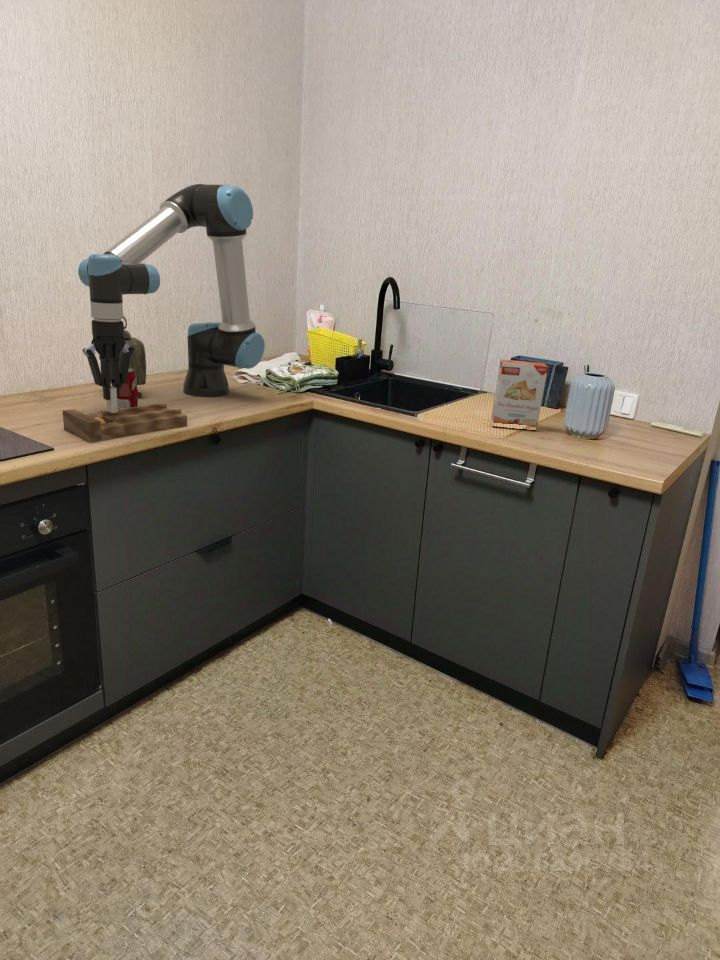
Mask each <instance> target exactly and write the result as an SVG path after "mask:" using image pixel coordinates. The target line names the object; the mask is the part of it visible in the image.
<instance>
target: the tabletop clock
mask: <svg viewBox="0 0 720 960" xmlns="http://www.w3.org/2000/svg"><path fill="white" fill-rule="evenodd" d="M122 320H124V323H125V325H124V336H123V337H124V340H125V342H126V344H127V345H129V346H131V347H134V351H133V353H132V355H131V359H130V364H129V368H132V369H134V372H135V374H136V375H137V386H143V385H146V383H147V359H146V358H147V356H146V348H145V344H144V342H143V341H141V340H140V339H139V338H136V337H133V336H132V335H131V333H130V332H129V331H128V330H126V329H127V327H128V321H127V319H126V317H125V316H124V315H123V319H122ZM122 353H123V351H121V353H120V360H119V368H120V362H121V356H122ZM110 381H111V372H110ZM142 396H143V395H142V392H139V390H138V389H137V398H142Z"/></svg>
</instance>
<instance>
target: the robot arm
mask: <svg viewBox="0 0 720 960" xmlns="http://www.w3.org/2000/svg"><path fill="white" fill-rule="evenodd" d="M252 204H253V203H252V201H251V198H250V197H249V195H248V194H247V193H246V192H245V190H244V189H243V188H241V187H239V186H236V185H230V184H204V183H196V184H191V185H189V186H186V187H183V189H180V190H178V191H177V192H175V193H174V194H172V195H171V196H170V197H168V198H167V199H165V200H164V201H163V202H161V203H160V206H159V210H158V211H156V212H155V213H154V214H152V215H151V216H150V217H149V218H148V219H146V220H144V222H142V223H141V224H140V225H138V226H137V227H136V228H135V229H133V230H132V231H131V232H129V233H127V235H125V236H124V237H123V238H122V239H120V240H119V241H118V242H116V243H115V244H114V245H113V246H111V247H110V248H109V249H107V250H106V251H105V252H103V253H91V254H90V255H88V258H85V259H83V260H82V261H80V263H79V265H78V271H77V273H78V277H79V278H78V279H80V280H79V281H80V282H81V283H82V284H83V285H85V286H86V287H88V288H89V300H90V302H89V303H90V305H89V306H90V317H91V318H92V320H91V334H92V339H91V344H90V345H89V346H88V347H84V348H82V352H83V354H84V355H85V356H86V359H87V362H88V365H89V369H90V372H91V374H92V378H93V381H94V384H95V385H97V386H98V387H102V398H103V399H104V400H105V401H106V411H109V412H111V413H116V412H118V410H117V399H119V397H120V392H119V388H120V387H121V386H122V384H125V383H126V381H127V376H128V370H129V364H130V359H131V355H132V353H133V351H134V347H131V346H129V345H127V344H126V342H125V340H124V337H123V336H124V330H125V329H124V327H125V325H124V323H125V322H124V321H123V320H124V319H123V316H124V308H123V307H124V305H123V301H124V300H123V296H124V295H149V294H155V293H156V292H157V291H158V290H159V288H160V287H161V274H160V272H159V271H158V269H157V267H155V266H154V265H152V264H149V263H142V262H143V261H145V260H146V259H147V258H149V256H151V255H152V254H153V253H154V252H156V251H158V249H159V248H160V247H162V246H163V245H164V244H166V242H168V241H170V239H172V238H173V237H174V236H175V235H177V234H182V233H185V232H186V231H187V230H189V229H192V228H195V227H201V228H202V227H203V228H205V231H206V236H207V237H208V239H210V240H211V241H212V244H213V245H212V246H213V252H214V260H215V261H214V262H215V263H214V264H215V271H216V278H217V288H218V296H219V303H220V313H221V321H220V322H219V321H218V322H217V321H216V322H197V323H191V324H189V326H188V328H187V329H188V330H187V338H186V339H187V361H188V363H187V364H188V365H187V366H188V368H187V372H186V375H185V379H184V382H183V385H182V386H183V387H182V388H183V389H182V390H183V392H184V393H185V394H187V395H191V396H196V397H197V396H198V397H220V396H221V397H222V396H226V395H228V394H229V392H230V385H229V383H228V379H227V376H226V372H225V366H229V367H230V366H231V367H234V368H237V369H249V370H250V369H252V368H255V367H256V366H257V365H258V364H259V363H260V362H261V360H262V358H263V356H264V353H265V346H266V343H265V339H264V337H263V336H262V335H261V334H260V333H259V332H257V331H256V324H255V322H253V320H251V319H250V308H249V299H248V288H247V278H246V276H247V275H246V268H245V257H244V247H243V240H244V238H245V237H246V236H247V229H248V228H249V227H250V226H251V225H252V221H253V219H254V209H253V205H252ZM121 351H123V353H122V356H121V362H120V368H119V360H120V353H121ZM96 354H98V359H97V356H96ZM98 360H99V361H100V363H98ZM99 364H100V366H99ZM110 372H111V381H110Z"/></svg>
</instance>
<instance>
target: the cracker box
mask: <svg viewBox="0 0 720 960" xmlns="http://www.w3.org/2000/svg"><path fill="white" fill-rule="evenodd" d="M548 371H549V366H548V365H547V364H546V363H544V362H532V361H524V360H512V359H500V360H499V367H498V373H497V380H496V386H495V393H494V399H493V406H492V412H491V416H490V417H491V419H492V421H493V423H502V424H518V425H527V426H531V427H537V428H538V423H539V419H540V413H541V407H542V402H543V398H544V391H545V387H546V386H545V385H546V381H547V375H548ZM491 419H490V420H491Z"/></svg>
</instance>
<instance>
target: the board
mask: <svg viewBox="0 0 720 960" xmlns="http://www.w3.org/2000/svg"><path fill="white" fill-rule="evenodd" d="M117 410H118V412H116V413H111V412H109V411H107V410H101V411H100V412H98V413H90V414H86V413H84V412H81V411H79V410H77V409H75V408H72V409H63V410H62V420H63V430H65V431H67V432H69V433H71V434H73V435H74V436H77V437H79V438H80V439H83V440H84V441H86V442H88V443H95V442H100V441H105V440H106V441H107V440H111V439H112V440H113V439H117V438H123V437H124V438H125V437H130V435H131V436H135V435H136V434H137V435H142V433H143V434H148V433H153V432H159V431H165V430H171V429H177V428H184V427H188V415H187V414H184V413H182V408H180V407H178V408H177V407H176V408H172V409H171V408H168V403H166V402H161V403H154V404H146V405H138V406H137V407H130V408H123V409H117ZM96 417H99V418H102V419H103V420H104V421H105V422H106V423H105V424H101V421H99V420H97V419H95V418H96Z"/></svg>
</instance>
